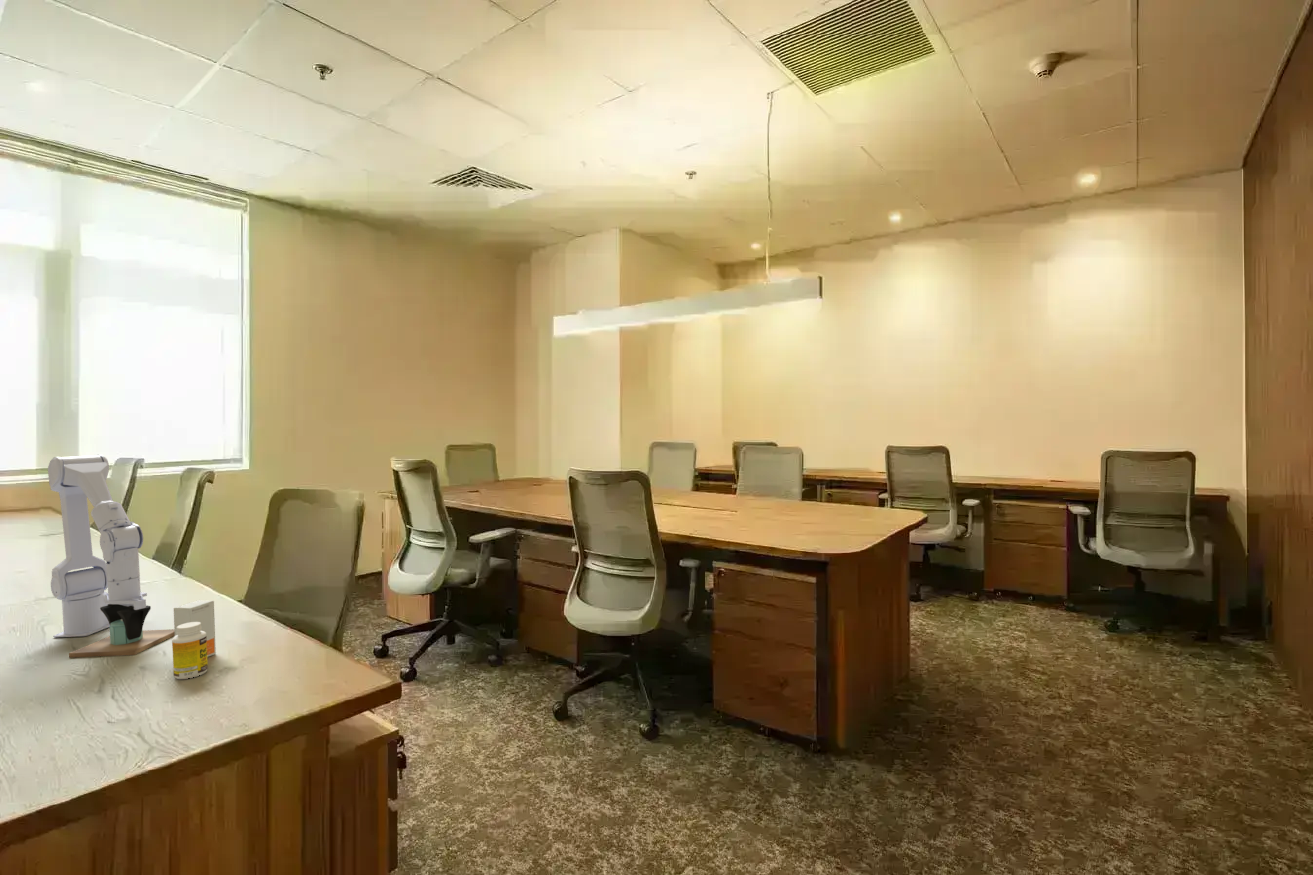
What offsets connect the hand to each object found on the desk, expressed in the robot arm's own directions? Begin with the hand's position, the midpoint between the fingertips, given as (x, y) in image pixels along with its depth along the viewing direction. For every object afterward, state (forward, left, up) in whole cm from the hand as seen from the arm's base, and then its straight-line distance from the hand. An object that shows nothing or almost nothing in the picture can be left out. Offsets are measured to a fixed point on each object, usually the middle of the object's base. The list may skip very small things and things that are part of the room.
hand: (127, 636), depth 144 cm
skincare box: (+11, +23, -2) cm, 26 cm away
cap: (0, 0, -1) cm, 1 cm away
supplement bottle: (+20, +28, -2) cm, 34 cm away
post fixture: (0, 0, -2) cm, 2 cm away
